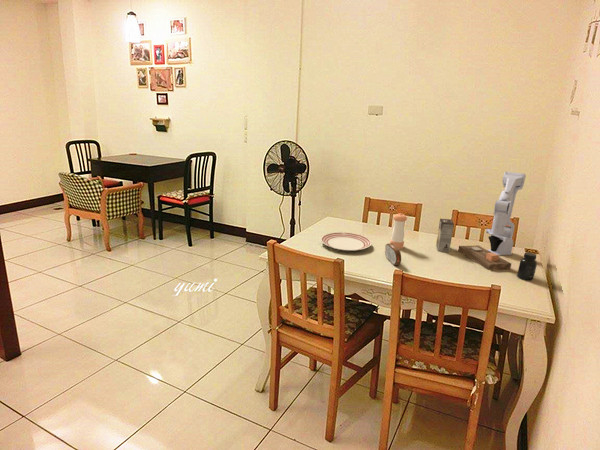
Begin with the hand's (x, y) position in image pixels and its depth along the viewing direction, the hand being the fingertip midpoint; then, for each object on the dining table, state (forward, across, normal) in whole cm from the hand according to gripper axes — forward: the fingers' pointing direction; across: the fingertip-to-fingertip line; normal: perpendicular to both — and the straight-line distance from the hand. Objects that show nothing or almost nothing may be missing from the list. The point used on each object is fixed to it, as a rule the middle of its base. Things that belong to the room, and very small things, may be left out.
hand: (493, 250), depth 196 cm
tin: (+8, -8, -50) cm, 51 cm away
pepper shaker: (+8, -28, -38) cm, 48 cm away
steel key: (+7, -13, 0) cm, 15 cm away
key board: (+7, -6, 0) cm, 10 cm away
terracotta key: (+5, 0, 0) cm, 5 cm away
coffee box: (+8, -24, -13) cm, 28 cm away
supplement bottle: (+8, +16, +6) cm, 19 cm away
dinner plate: (+8, -32, -66) cm, 74 cm away
